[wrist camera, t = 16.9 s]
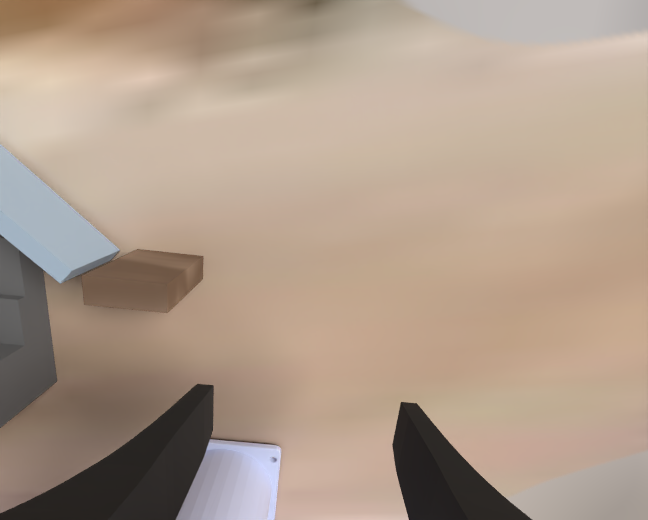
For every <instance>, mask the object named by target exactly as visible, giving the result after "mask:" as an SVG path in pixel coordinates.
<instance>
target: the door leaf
mask: <svg viewBox="0 0 648 520" xmlns="http://www.w3.org/2000/svg"><path fill="white" fill-rule="evenodd" d="M0 234H1V235H2V236H3V237H4V238H5V239H7V240H8V241H9V242H10V243H11V244H13V245H14V246H15V247H16V248H18V249H19V250H20V251H21V252H22V253H24V254H25V255H26V256H27V257H29V258H30V259H31V260H32V261H33V262H35V263H36V264H37V265H38V266H39V267H41V268H42V269H43V270H44V271H46V272H47V273H48V274H49V275H50V276H52V277H53V278H54V279H55V280H57V281H58V282H59V283H63V282H65V281H67V280H69V279H71V278H74V277H76V276H78V275H80V274H82V273H84V272H87V271H89V270H91V269H93V268H95V267H98V266H100V265H102V264H104V263H106V262H108V261H110V260H111V259H112V258H113V257H114V256H115V255H116V254H117V253H118V252H119V251H120V250H119V249H118V248H117V247H116V246H115V245H114V244H113V243H112V242H110V241H109V240H108V239H107V238H106V237H105V236H104V235H103V234H101V233H100V232H99V231H98V230H97V229H96V228H95V227H93V226H92V225H91V224H90V223H89V222H88V221H87V220H86V219H84V218H83V217H82V216H81V215H80V214H79V213H78V212H77V211H75V210H74V209H73V208H72V207H71V206H70V205H69V204H68V203H66V202H65V201H64V200H63V199H62V198H61V197H60V196H58V195H57V194H56V193H55V192H54V191H53V190H52V189H51V188H49V187H48V186H47V185H46V184H45V183H44V182H43V181H42V180H40V179H39V178H38V177H37V176H36V175H35V174H34V173H33V172H31V171H30V170H29V169H28V168H27V167H26V166H25V165H23V164H22V163H21V162H20V161H19V160H18V159H17V158H16V157H14V156H13V155H12V154H11V153H10V152H9V151H8V150H7V149H5V148H4V147H3V146H2V145H1V144H0Z"/></svg>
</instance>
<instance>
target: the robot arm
mask: <svg viewBox="0 0 648 520" xmlns="http://www.w3.org/2000/svg"><path fill="white" fill-rule="evenodd" d="M213 387H214V386H213V385H202V384H197V385H196V386H194V387H193V388H192V389H191V390H190V391H189V392H188V393H187V394H185V395H184V396H183V397H182V398H181V399H180V400H179V401H178V402H177V403H175V404H174V405H173V406H172V407H171V408H170V409H169V410H167V411H166V412H165V413H164V414H163V415H162V416H160V417H159V418H158V419H157V420H156V421H154V422H153V423H152V424H151V425H150V426H148V427H147V428H146V429H144V430H143V431H142V432H140V433H139V434H138V435H137V436H135V437H134V438H133V439H131V440H130V441H129V442H127V443H126V444H125V445H123V446H122V447H120V448H119V449H118V450H116V451H115V452H113V453H112V454H110V455H109V456H107V457H106V458H104V459H103V460H101V461H99V462H98V463H96V464H94V465H93V466H91V467H89V468H88V469H86V470H84V471H83V472H81V473H79V474H77V475H76V476H74V477H72V478H71V479H69V480H67V481H65V482H64V483H62V484H60V485H58V486H56V487H54V488H52V489H50V490H49V491H47V492H45V493H43V494H41V495H39V496H37V497H35V498H33V499H31V500H29V501H27V502H25V503H22V504H20V505H18V506H16V507H14V508H12V509H9V510H7V511H5V512H3V513H0V520H275V510H276V500H277V490H278V479H279V469H280V459H281V448H280V447H279V446H277V445H269V444H258V443H247V442H235V441H224V440H213V439H210V437H211V434H212V431H213ZM393 452H394V459H395V466H396V472H397V476H398V480H399V484H400V488H401V491H402V495H403V499H404V503H405V506H406V510H407V514H408V518H409V520H532V519H530V518H529V517H528V516H527V515H526V514H524V513H523V512H522V511H521V510H519V509H518V508H517V507H516V506H514V505H513V504H512V503H510V502H509V501H508V500H507V499H506V498H505V497H504V496H502V495H501V494H500V493H499V492H498V491H497V490H496V489H495V488H494V487H492V486H491V485H490V484H489V483H488V482H487V481H486V480H485V479H484V478H483V477H482V476H481V475H480V474H479V473H478V472H477V471H476V470H475V469H474V468H473V467H472V466H471V465H470V464H469V463H468V462H467V461H466V460H465V459H464V458H463V457H462V456H461V455H460V454H459V453H458V452H457V451H456V449H455V448H454V447H453V446H452V445H451V444H450V443H449V442H448V440H447V439H446V438H445V437H444V436H443V435H442V433H441V432H440V431H439V430H438V429H437V427H436V426H435V425H434V424H433V423H432V421H431V420H430V419H429V418H428V417H427V415H426V414H425V413H424V412H423V410H422V409H421V408H420V407H419V406H418V404H417V403H406V402H401V405H400V410H399V415H398V420H397V425H396V430H395V435H394V440H393ZM272 457H275V458H272Z"/></svg>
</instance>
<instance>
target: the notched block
mask: <svg viewBox="0 0 648 520" xmlns="http://www.w3.org/2000/svg"><path fill="white" fill-rule="evenodd" d="M56 382H57V377H56V369H55V361H54V353H53V345H52V337H51V329H50V321H49V313H48V305H47V297H46V290H45V282H44V274H43V269H42V268H41V267H39V266H38V265H37V264H36V263H35V262H33V261H32V260H31V259H30V258H29V257H27V256H26V255H25V254H24V253H22V252H21V251H20V250H19V249H18V248H16V247H15V246H14V245H13V244H11V243H10V242H9V241H8V240H7V239H5V238H4V237H3V236H2V235H1V234H0V428H1V427H2V426H3V425H4V424H6V423H7V422H8V421H9V420H11V419H12V418H13V417H14V416H15V415H17V414H18V413H19V412H20V411H22V410H23V409H24V408H25V407H26V406H28V405H29V404H30V403H31V402H32V401H34V400H35V399H36V398H37V397H39V396H40V395H41V394H42V393H43V392H45V391H46V390H47V389H48V388H49V387H51V386H52V385H53V384H54V383H56Z"/></svg>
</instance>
